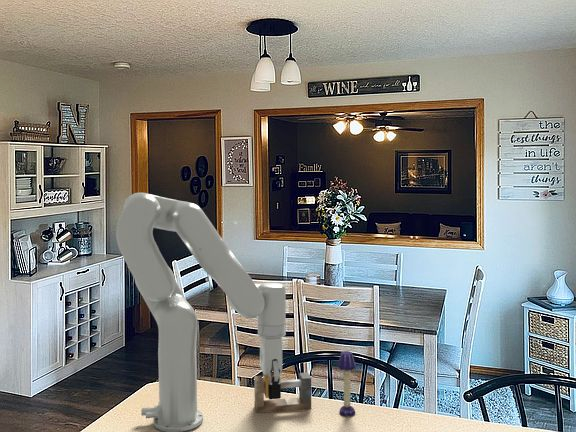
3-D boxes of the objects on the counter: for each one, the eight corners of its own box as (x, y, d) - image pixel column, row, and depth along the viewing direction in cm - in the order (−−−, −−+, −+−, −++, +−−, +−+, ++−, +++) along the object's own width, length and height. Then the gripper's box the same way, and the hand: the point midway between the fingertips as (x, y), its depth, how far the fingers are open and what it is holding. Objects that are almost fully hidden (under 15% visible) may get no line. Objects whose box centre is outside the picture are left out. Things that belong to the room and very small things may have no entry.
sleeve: (265, 398, 151) (265, 379, 151) (263, 391, 156) (263, 373, 156) (280, 396, 152) (280, 378, 152) (277, 390, 157) (277, 372, 157)
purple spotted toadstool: (354, 417, 148) (354, 355, 147) (336, 416, 149) (337, 354, 148) (355, 410, 153) (356, 350, 152) (338, 409, 154) (339, 348, 153)
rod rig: (256, 412, 152) (256, 381, 151) (254, 406, 156) (254, 376, 155) (311, 408, 154) (311, 378, 154) (307, 402, 159) (307, 372, 158)
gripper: (253, 321, 161) (254, 381, 162) (262, 339, 144) (262, 406, 145) (279, 320, 162) (279, 379, 163) (291, 337, 145) (291, 403, 146)
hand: (271, 391), depth 154 cm, fingers open, 8 cm apart
